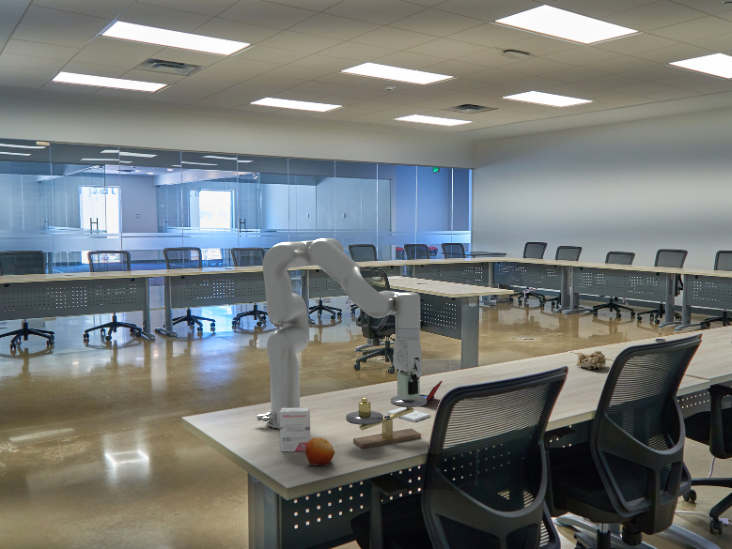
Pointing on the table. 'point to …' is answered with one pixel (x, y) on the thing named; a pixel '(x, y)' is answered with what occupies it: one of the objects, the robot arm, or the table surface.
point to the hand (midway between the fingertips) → (408, 391)
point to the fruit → (319, 452)
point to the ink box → (294, 428)
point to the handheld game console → (431, 393)
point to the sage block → (405, 386)
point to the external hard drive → (410, 414)
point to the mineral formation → (592, 360)
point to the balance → (384, 422)
